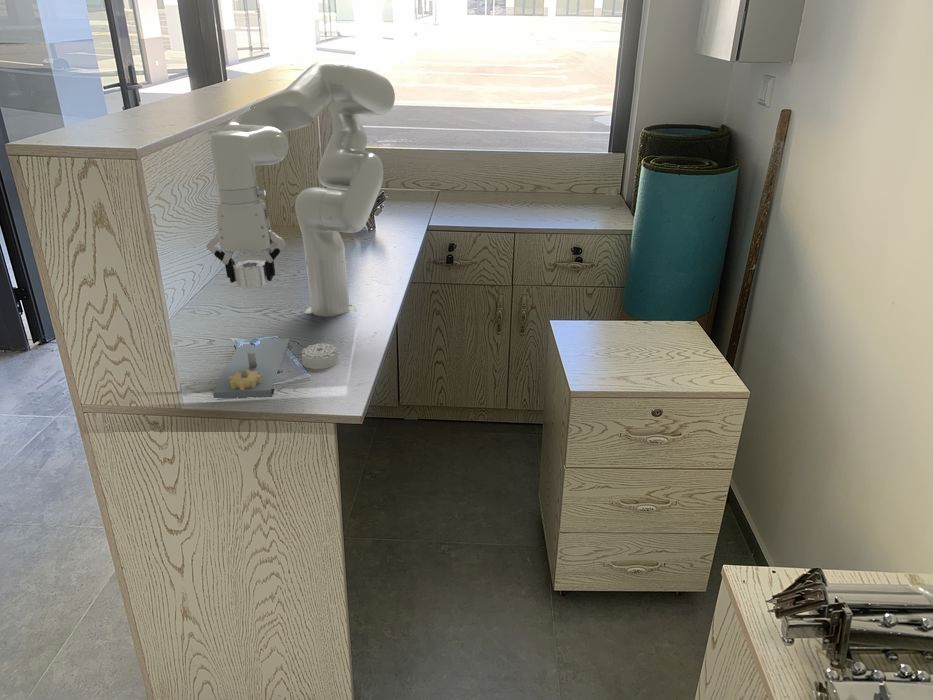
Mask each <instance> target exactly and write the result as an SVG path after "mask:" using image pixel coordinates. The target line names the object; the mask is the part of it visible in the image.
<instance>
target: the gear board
mask: <svg viewBox="0 0 933 700" xmlns="http://www.w3.org/2000/svg"><path fill="white" fill-rule="evenodd" d="M254 340H255V339H251V340H250V339H249V340H247V339H246V340H245V339H244V340H242V341H244V342H250V341H254ZM258 340H259V341H260V344H258V346H256V345H255V346H254V345H251V344H243V346H242V345H241V346H240V347H238V345H237V347H236V349H235V350H234V352H233V354H232V356H231V357H230V359H229V362H228V364H226V367H225V369H224V371H223V373H222V375H221V377H220V379H219V381H217V384H216V386H215V388H214V390H213V392H212V397H213V399H214V398H237V397H238V399H248V398H247V397H255V399H256V397H258V398H272V397H273V395H274V391H275V388H273V385H274V383H275V381H276V377H277V374H278V373H279V370H280V367H281V363H282V361H283V359H284V356H285V352H286V350H287V348H288V345H289V343H290V340H291V339H290V338H271V339H270V338H269V339H258Z"/></svg>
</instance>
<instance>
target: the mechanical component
mask: <svg viewBox="0 0 933 700" xmlns="http://www.w3.org/2000/svg"><path fill="white" fill-rule="evenodd" d="M301 361H302V362H301V363H302V366H304V367H305V368H306V369H310V370H311V369H312V370H323V369H328V368H331V367H333V366H335V365H337V364H338V363H339V362H340V357H339V350H338V347H337V346H336V345H335V344H329V343H328V342H325V343H324V342H321V343H319V342H317V343H316V344H312V345H311V344H309V345H308V346H307V347H303V349H302V350H301Z"/></svg>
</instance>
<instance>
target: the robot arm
mask: <svg viewBox="0 0 933 700" xmlns="http://www.w3.org/2000/svg"><path fill="white" fill-rule="evenodd" d="M395 93H396V92H395V89H394V87H393V85H392V82H391V81H390V80H389V79H388V78H386V77H385V76H383V75H382V74H379V73H378V72H375V71H374V70H372V69H370V68H368V67H366V66H364V65H361V64H360V63H357V62H353V61H330V60H328V61H326V60H324V61H318V62H315V63H313V64H311V65H310V66H309V67H308V68H306V70H305V71H303V72H302V73H300V75H299V76H298V77H297V78H296V79H295V80H294V81H293V82H291V83H290V84H289V85H288V86H287V87H286V88H285V89H284V90H283V91H281V92H279V93H277V94H273V95H271V96H269V97H267V98H265V99H262V100H261V101H259V102H256V103H253V104H251V105H250V106H251V107H250V109H251V110H249V111H247V112H245V113H243V114H241V115H239V116H237V117H235V116H234V117H235V118H234V117H233V118H232V119H230V121H228V122H227V123H226V125H225V126H223V129H222V130H221V131H217V132H215V133H213V134H212V135H211V136H210V147H211V155H212V160H213V165H214V171H215V172H214V173H215V178H216V185H217V191H218V196H219V201H218V203H217V207H216V209H217V211H216V214H217V215H216V217H217V218H216V219H217V220H216V221H217V234H216V235H215V236H214V237H213V238H212V239H211V240H210V241H209V242H208V243H207V244H206V246H205V247H206V249H208V250H209V252H210V253H212V254H213V255H214V257H216V258H217V259H219V260H220V261H221V262H222V263H223V265H225V272H226V277H227V278H228V279H229V281H230V283H231V284H233V283H235V277H234V271H233V265H236V262H235V261H234V259H233V256H234V253H249V252H250V253H251V252H252V253H253V252H260V253H261V254H262V256H263V257H264V259H265V261H266V263H265V268H266V275H267V280H268V281H270V282H272V280H273V277H274V276H276V269H275V262H274V260H275V259H276V258H277V257H278V256H279V255H280V253H281V251H282V250H283V249H284V248H285V246H286V244H287V240H286V239H284V238H283V237H281V236H280V235H278V234H277V233H275V232H274V231H273V230H272V227H271V226H272V225H271V222H270V217H269V213H268V209H267V206H266V203H265V201H264V199H260V198H261V197H263V196H264V197H266V194H267V193H266V189H265V188H260V187H259V185H258V182H257V174H256V167H257V166H266V165H267V166H268V165H269V166H270V165H271V166H272V165H277V164H278V163H280V162H282V161H283V160H284V159H285V158H286V156H287V154H288V152H289V145H290V144H289V140H288V138H287V136H286V134H285V133H284V132H289V131H295V130H299V129H302V128H305V127H308V126H310V125H311V124H312V123H313V122H314V121H315V120H316V119H317V118H318V117H319V116H320V115H321V114H322V113H323V112H324V111H325V110H326V108H328V107H329V109H330V113H331V117H332V122H333V123H332V125H333V128H332V133H331V135H330V136H331V137H330V138H329V141H328V143H327V146H326V148H325V151H324V152H323V155H322V157H321V160H320V162H319V165H318V168H317V173H316V174H317V175H316V176H317V179H318V182H319V183H320V184H321V186H323V187H308V188H305V189H304V190H301V191H300V193H299V194H298V195H297V196H296V200H295V205H294V211H295V215H296V219H297V223H298V225H299V229H300V232H301V237H302V241H303V249H304V256H305V257H304V259H305V267H306V275H307V286H308V293H309V303H310V306H309V307H308V308H307V309H306V310H305V312H304V313H305V314H312V315H315V316H318V317H335V316H340V315H343V314H346V313H347V312H348V313H349V312H357V307H356V306H355V305H353V304H352V303H350V297H349V286H348V275H347V274H348V273H347V264H346V249H345V243H344V241H343V238H342V236H341V233H349V234H350V233H359V232H360V231H361V230H362V229H363V228H364V227H365V226H366V224H367V223H368V220H369V218H370V216H371V213H372V210H373V208H374V206H375V203H376V201H377V197H379V196H378V195H379V193H380V191H381V188H382V185H383V182H384V165H383V163H382V160H381V158H380V157H379V156H378V155H377V154H375V153H374V152H370V151H365V150H366V147H367V143H368V136H367V133H366V130H365V128H364V126H363V123H362V122H361V120H360V117H359V115H369V116H370V115H373V116H382V115H387V114H388V113H389V112H390V111H392V109H393V107H394V104H395V102H396V94H395ZM254 107H255V108H254ZM340 232H341V233H340ZM218 243H219V247H220V248H218V246H217V244H218ZM273 243H276V244H277V245H276V247H275V248H273V250H272V249H271V245H273Z"/></svg>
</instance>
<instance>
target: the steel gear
mask: <svg viewBox="0 0 933 700" xmlns="http://www.w3.org/2000/svg"><path fill="white" fill-rule="evenodd" d="M265 263H266V260H261V259H255V260H253V259H252V260H251V259H246V260H245V261H238V262H236V263H235V265H233V271H234V277H235V282H234V283H235V284H234V285H235V287H236V288H242V289H250V288H252V289H257V288H259V287H265V286H267V284H269V283H270V282H271V281H268V280H267V275H266V268H265Z"/></svg>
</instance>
